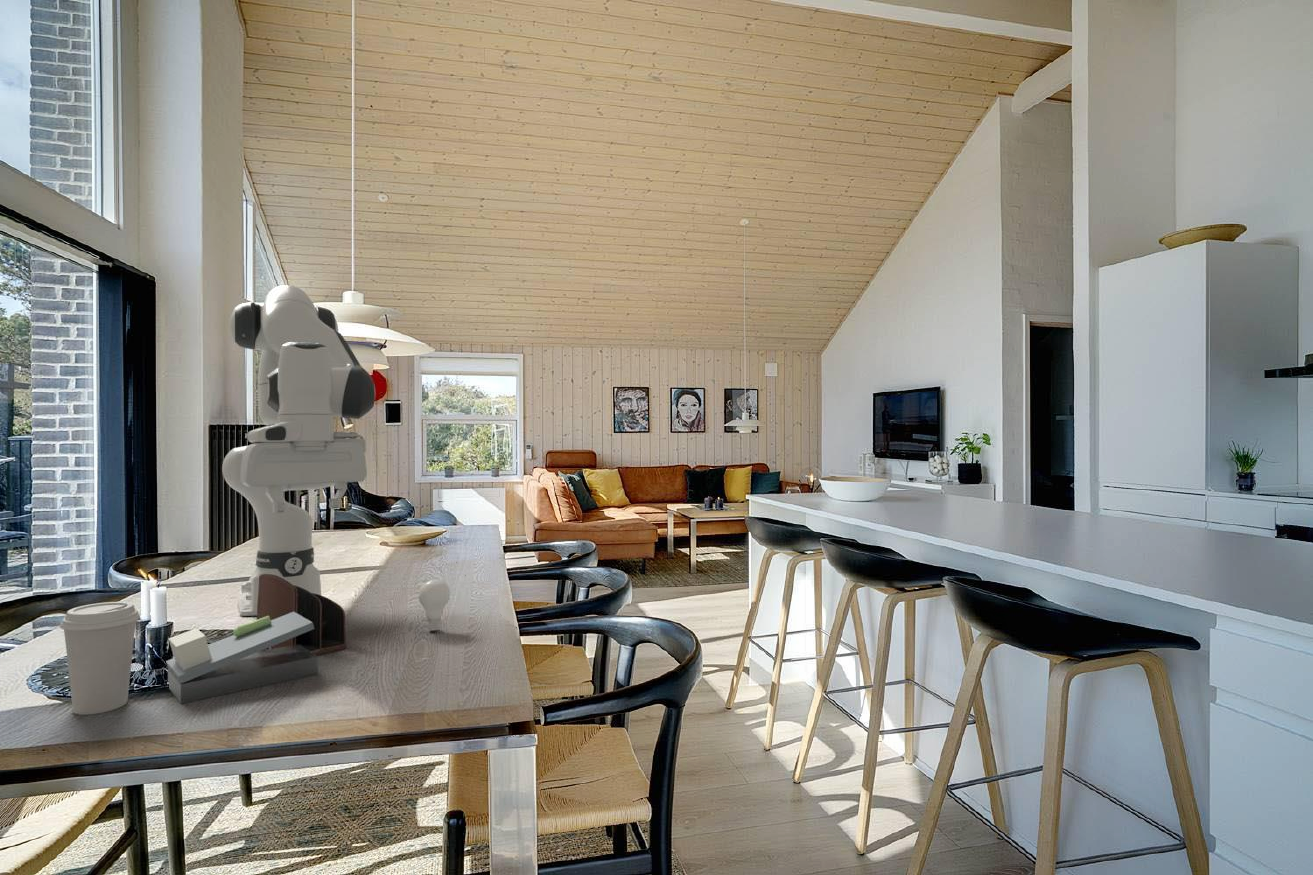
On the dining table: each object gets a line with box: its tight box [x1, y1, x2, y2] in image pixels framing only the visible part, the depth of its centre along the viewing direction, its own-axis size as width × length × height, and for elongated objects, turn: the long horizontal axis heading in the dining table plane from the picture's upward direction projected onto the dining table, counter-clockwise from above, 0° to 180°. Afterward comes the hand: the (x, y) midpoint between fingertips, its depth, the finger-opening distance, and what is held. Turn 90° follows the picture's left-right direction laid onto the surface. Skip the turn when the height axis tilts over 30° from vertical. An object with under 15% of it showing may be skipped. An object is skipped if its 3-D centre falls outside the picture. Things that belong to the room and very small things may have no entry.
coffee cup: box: [59, 601, 141, 716], centre depth 107 cm, size 10×10×15 cm
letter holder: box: [256, 574, 347, 656], centre depth 140 cm, size 10×20×14 cm, turn 47°
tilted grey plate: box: [165, 612, 314, 683], centre depth 118 cm, size 10×20×5 cm, turn 134°
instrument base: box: [167, 644, 319, 705], centre depth 119 cm, size 10×20×3 cm, turn 134°
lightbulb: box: [418, 578, 451, 633], centre depth 149 cm, size 6×6×11 cm
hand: (307, 510), depth 125 cm, fingers open, 8 cm apart
